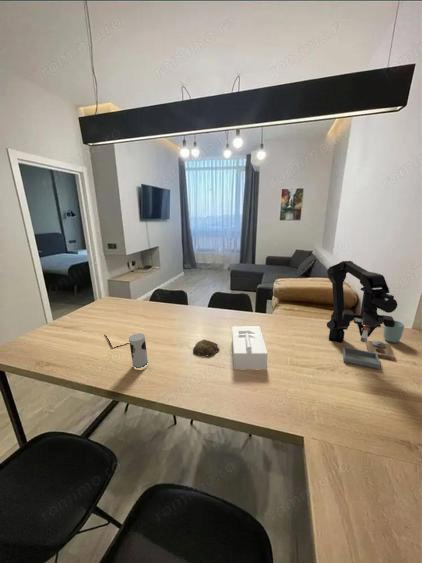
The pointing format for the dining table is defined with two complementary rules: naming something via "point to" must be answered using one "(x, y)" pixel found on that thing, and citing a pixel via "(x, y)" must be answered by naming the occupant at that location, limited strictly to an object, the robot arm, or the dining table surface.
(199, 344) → the dark brown rock
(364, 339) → the lock pin
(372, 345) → the block
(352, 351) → the tray
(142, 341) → the grey cylinder
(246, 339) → the white rectangular block
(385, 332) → the cup
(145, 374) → the dining table surface
